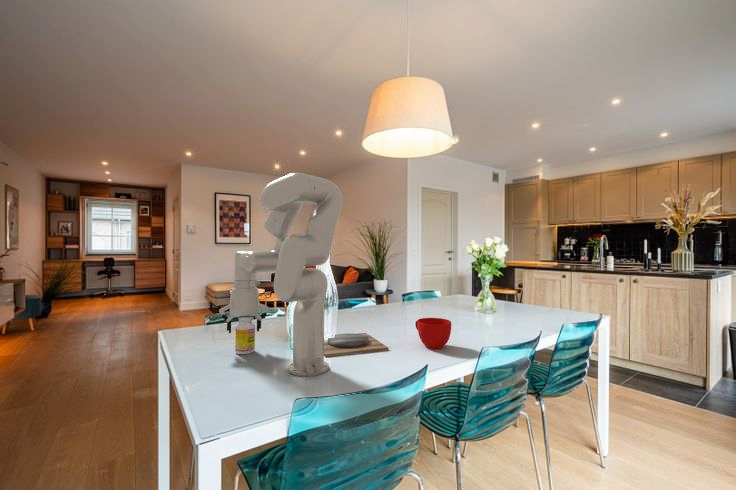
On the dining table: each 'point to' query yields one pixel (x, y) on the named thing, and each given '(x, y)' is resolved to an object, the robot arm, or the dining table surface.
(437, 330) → the ceramic cup
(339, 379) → the dining table surface
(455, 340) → the dining table surface
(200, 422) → the dining table surface
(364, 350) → the mount board
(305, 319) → the robot arm
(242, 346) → the supplement bottle
